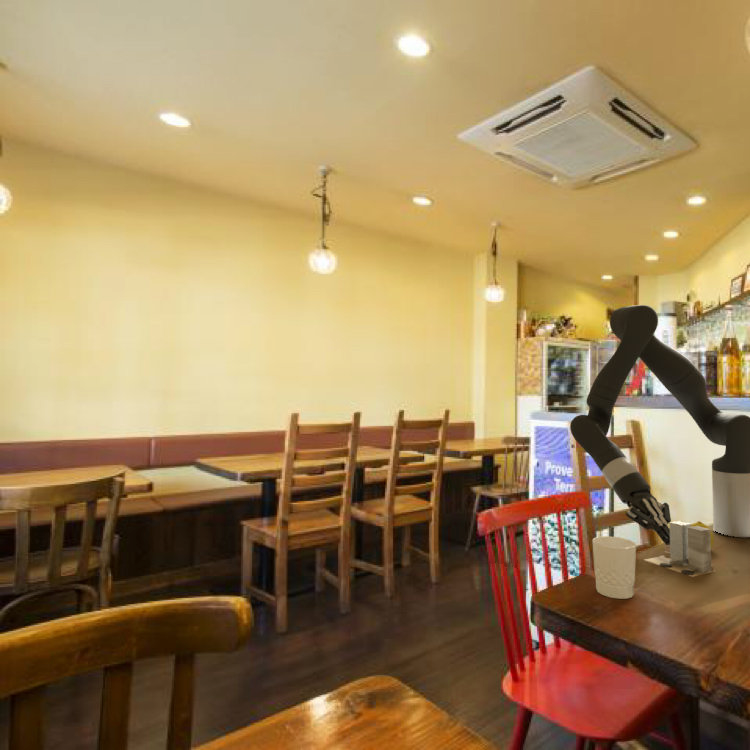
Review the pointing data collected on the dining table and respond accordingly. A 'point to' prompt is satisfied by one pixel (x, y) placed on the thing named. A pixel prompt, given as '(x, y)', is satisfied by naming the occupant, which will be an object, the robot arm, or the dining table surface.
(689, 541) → the gauge board
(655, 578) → the dining table surface
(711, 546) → the lemon
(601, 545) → the white cup
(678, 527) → the block
